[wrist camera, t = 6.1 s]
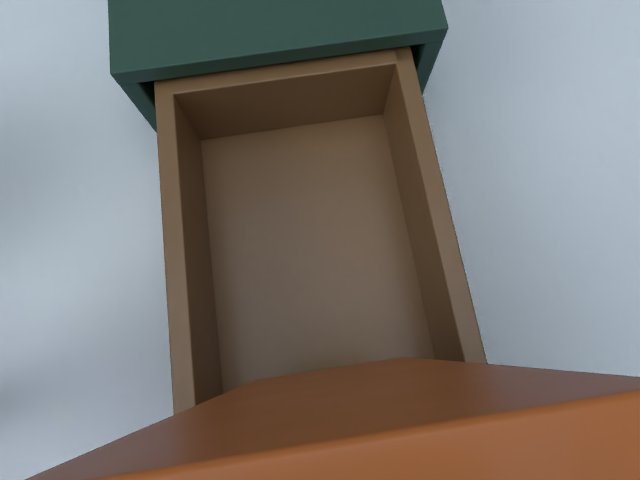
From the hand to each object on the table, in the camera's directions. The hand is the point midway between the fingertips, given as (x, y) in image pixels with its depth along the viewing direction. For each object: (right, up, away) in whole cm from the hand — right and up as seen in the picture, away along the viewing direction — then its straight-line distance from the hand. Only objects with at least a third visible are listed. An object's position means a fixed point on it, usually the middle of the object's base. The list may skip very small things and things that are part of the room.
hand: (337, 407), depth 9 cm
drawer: (0, -1, +11) cm, 11 cm away
